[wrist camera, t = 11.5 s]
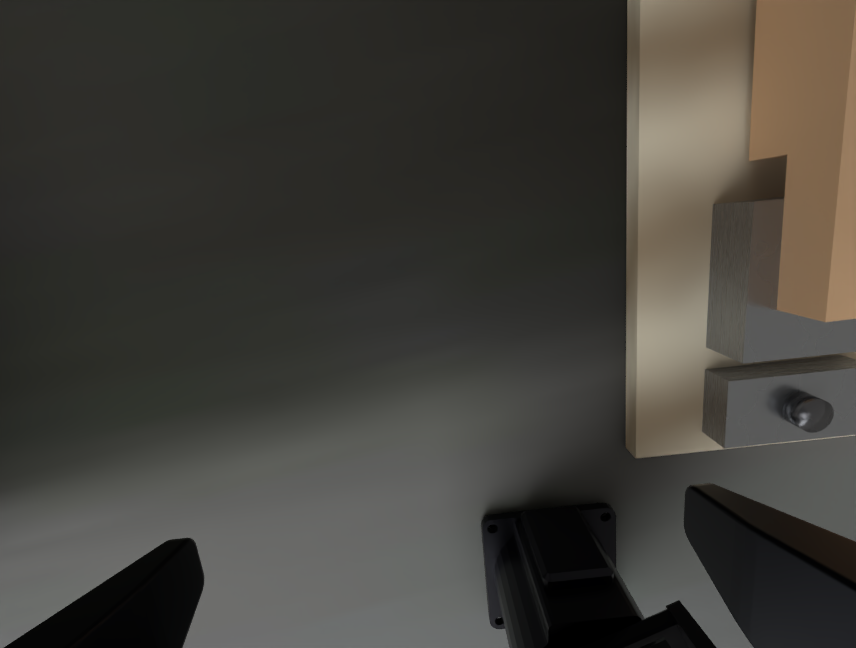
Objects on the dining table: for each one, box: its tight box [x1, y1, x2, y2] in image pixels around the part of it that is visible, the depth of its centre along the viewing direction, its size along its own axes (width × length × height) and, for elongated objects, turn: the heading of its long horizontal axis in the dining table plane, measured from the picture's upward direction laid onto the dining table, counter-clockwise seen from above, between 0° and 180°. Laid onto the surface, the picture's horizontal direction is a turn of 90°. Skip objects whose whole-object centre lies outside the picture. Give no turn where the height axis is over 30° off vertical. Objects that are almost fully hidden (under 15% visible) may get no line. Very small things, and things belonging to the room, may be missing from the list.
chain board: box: [626, 0, 856, 458], centre depth 17 cm, size 32×12×1 cm, turn 6°
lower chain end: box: [702, 197, 856, 449], centre depth 18 cm, size 10×6×2 cm, turn 6°
